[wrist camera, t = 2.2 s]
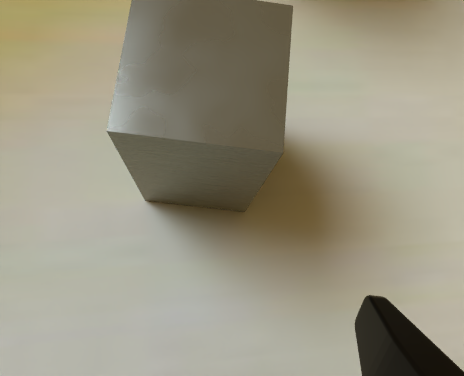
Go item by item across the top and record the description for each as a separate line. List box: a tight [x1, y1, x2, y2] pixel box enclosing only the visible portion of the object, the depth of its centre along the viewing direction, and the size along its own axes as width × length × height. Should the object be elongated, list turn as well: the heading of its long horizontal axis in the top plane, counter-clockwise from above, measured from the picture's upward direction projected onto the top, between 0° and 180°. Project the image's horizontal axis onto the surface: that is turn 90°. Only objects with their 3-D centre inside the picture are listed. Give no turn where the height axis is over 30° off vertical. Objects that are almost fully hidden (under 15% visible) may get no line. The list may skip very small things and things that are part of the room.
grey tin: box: [107, 0, 293, 212], centre depth 18 cm, size 6×6×10 cm
